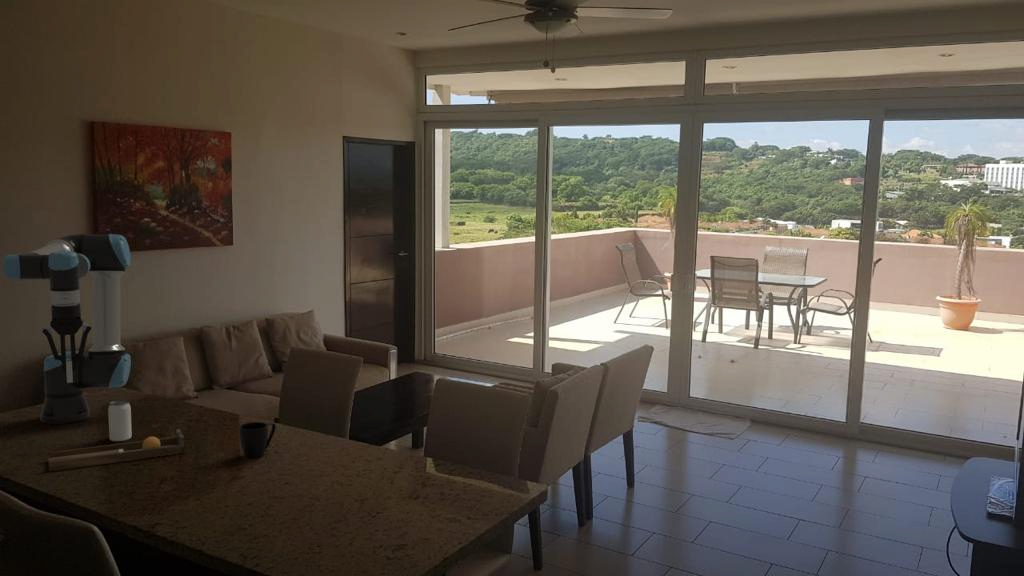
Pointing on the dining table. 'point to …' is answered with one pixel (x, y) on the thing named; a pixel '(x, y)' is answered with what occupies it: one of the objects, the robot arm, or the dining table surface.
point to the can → (119, 421)
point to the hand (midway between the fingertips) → (69, 381)
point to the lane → (114, 453)
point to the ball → (151, 443)
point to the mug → (255, 438)
